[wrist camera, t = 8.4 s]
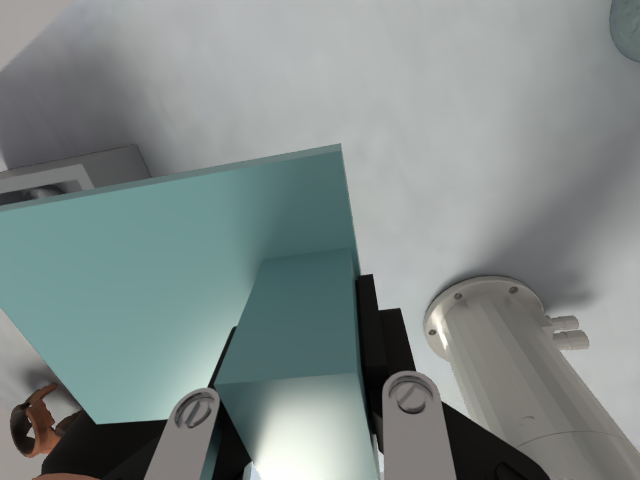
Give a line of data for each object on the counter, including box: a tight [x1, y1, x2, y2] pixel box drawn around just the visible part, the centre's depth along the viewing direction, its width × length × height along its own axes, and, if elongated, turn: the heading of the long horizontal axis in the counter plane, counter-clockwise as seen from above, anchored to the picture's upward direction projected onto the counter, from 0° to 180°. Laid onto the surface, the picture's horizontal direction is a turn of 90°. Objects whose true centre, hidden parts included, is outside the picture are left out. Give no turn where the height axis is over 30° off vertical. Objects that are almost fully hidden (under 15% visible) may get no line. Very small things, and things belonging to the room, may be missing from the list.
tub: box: [0, 144, 151, 206], centre depth 30 cm, size 14×11×7 cm
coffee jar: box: [32, 409, 168, 480], centre depth 34 cm, size 11×11×18 cm
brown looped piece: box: [10, 384, 84, 458], centre depth 46 cm, size 12×10×8 cm
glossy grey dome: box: [24, 185, 66, 201], centre depth 31 cm, size 3×3×2 cm
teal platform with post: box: [0, 143, 380, 480], centre depth 12 cm, size 14×11×8 cm
